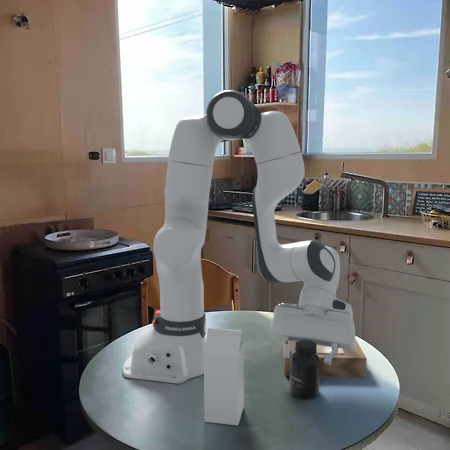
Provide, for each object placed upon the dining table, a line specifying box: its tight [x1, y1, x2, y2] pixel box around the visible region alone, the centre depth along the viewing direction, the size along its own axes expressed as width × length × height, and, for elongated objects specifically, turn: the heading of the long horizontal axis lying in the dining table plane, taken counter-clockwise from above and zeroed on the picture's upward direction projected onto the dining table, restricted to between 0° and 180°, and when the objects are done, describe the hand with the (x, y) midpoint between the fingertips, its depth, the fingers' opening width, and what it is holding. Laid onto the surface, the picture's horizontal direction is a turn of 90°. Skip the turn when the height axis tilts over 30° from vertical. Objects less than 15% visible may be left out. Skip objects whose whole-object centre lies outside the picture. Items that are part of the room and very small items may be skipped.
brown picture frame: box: [280, 338, 368, 378], centre depth 120 cm, size 20×14×5 cm
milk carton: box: [203, 327, 245, 426], centre depth 95 cm, size 7×7×19 cm
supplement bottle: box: [289, 340, 321, 400], centre depth 105 cm, size 7×7×12 cm
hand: (306, 360), depth 105 cm, fingers open, 8 cm apart
